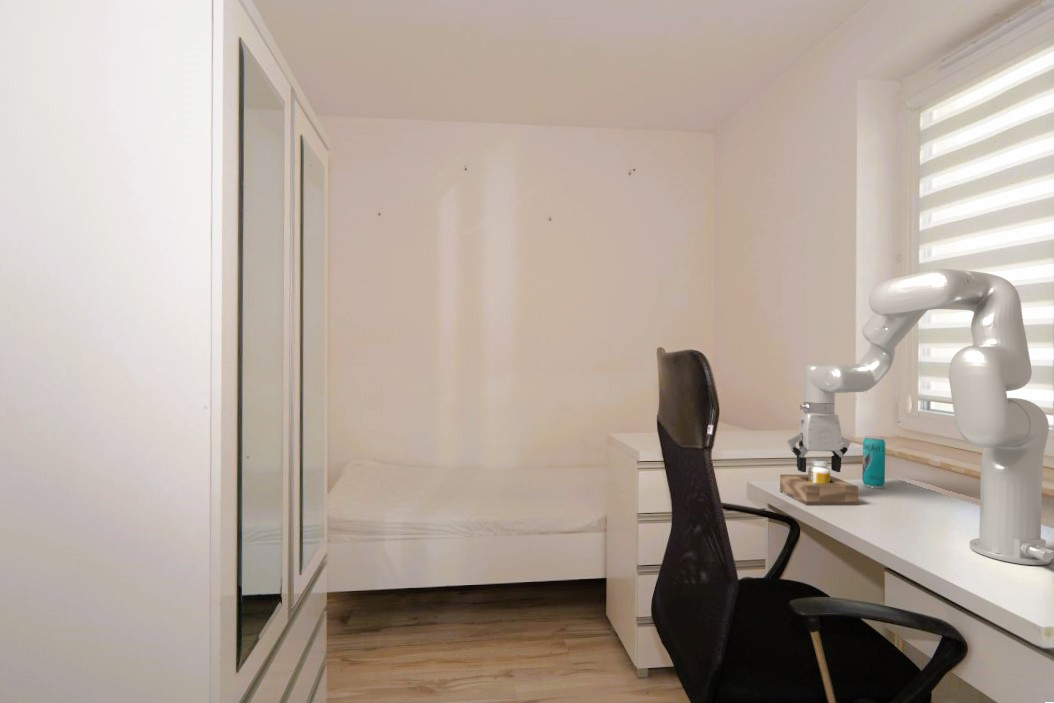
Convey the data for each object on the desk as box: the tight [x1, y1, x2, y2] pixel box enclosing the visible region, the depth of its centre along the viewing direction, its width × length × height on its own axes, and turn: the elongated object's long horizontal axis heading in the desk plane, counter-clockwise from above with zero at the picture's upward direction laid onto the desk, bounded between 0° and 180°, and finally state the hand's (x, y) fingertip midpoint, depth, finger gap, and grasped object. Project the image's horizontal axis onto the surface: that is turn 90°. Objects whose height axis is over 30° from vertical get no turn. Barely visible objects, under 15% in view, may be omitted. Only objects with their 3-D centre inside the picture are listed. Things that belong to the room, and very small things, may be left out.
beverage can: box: [861, 435, 886, 489], centre depth 172 cm, size 6×6×15 cm
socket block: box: [779, 474, 859, 506], centre depth 158 cm, size 14×14×5 cm
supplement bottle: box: [807, 458, 831, 483], centre depth 158 cm, size 5×5×10 cm
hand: (818, 471), depth 158 cm, fingers open, 9 cm apart
